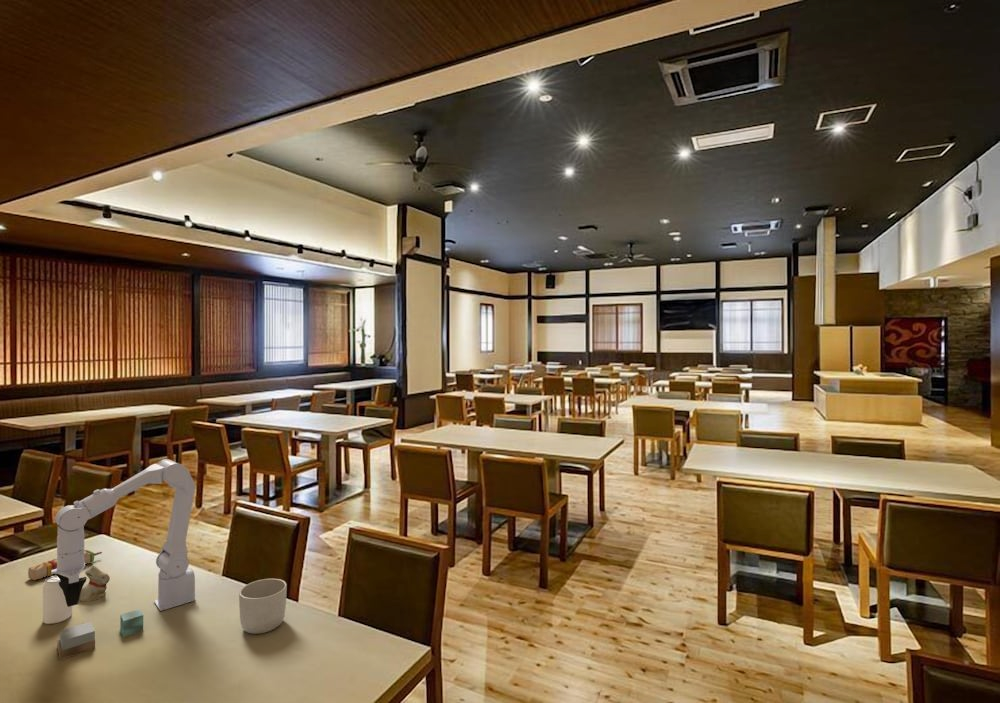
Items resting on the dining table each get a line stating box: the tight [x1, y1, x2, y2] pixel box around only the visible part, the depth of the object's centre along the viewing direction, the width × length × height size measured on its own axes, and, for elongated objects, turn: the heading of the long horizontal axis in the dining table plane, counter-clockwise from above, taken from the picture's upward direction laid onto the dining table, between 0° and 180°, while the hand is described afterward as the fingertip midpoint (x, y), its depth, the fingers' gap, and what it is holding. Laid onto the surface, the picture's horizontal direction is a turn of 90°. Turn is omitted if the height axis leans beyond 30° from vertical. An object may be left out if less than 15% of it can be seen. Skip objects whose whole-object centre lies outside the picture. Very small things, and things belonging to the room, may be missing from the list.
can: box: [42, 574, 73, 625], centre depth 147 cm, size 6×6×12 cm
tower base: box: [56, 639, 96, 661], centre depth 134 cm, size 7×7×2 cm
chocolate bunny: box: [79, 565, 111, 602], centre depth 160 cm, size 6×8×10 cm
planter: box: [238, 578, 288, 635], centre depth 145 cm, size 12×12×11 cm
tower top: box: [59, 621, 96, 651], centre depth 134 cm, size 6×6×2 cm
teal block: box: [119, 608, 144, 638], centre depth 142 cm, size 4×4×4 cm
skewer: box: [27, 549, 103, 581], centre depth 180 cm, size 21×6×5 cm, turn 153°
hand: (70, 600), depth 139 cm, fingers open, 7 cm apart
